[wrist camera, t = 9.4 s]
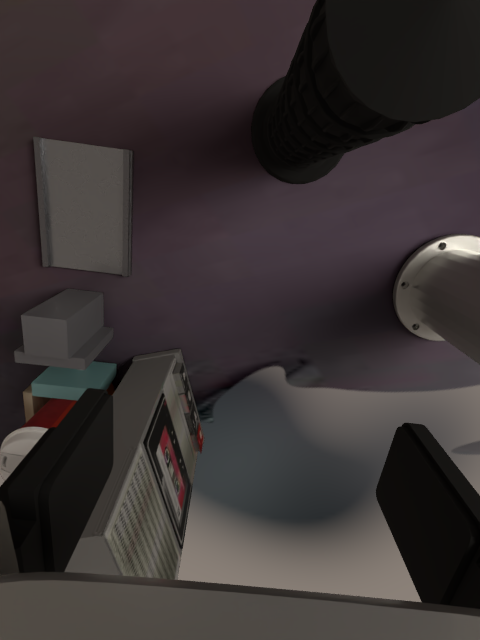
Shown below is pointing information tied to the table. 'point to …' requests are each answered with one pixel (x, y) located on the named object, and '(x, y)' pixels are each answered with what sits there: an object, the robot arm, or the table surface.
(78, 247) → the track
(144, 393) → the cassette tape recorder
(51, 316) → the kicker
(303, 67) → the handle grip
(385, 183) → the table surface
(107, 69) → the table surface
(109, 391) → the paper cup
